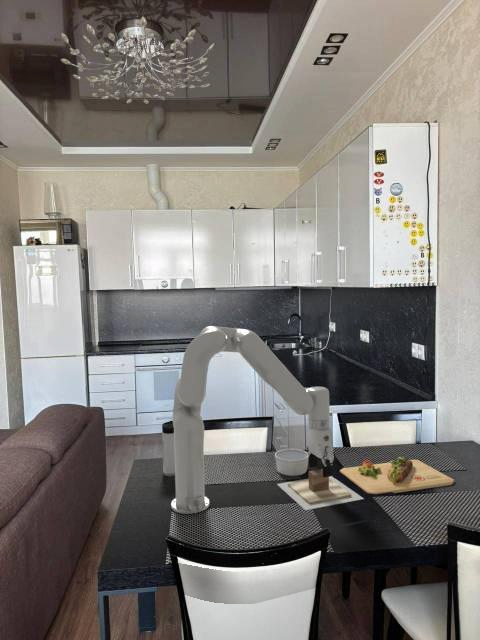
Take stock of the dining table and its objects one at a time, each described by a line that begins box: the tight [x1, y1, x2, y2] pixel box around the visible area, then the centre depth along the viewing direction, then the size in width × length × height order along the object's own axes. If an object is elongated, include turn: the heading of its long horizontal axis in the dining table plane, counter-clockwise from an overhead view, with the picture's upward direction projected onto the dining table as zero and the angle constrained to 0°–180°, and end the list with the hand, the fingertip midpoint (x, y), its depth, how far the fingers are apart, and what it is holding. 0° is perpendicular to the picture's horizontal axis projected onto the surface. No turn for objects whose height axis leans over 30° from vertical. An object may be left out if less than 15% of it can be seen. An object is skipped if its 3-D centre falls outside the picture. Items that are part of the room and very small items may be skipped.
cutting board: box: [339, 456, 455, 495], centre depth 178 cm, size 35×23×8 cm
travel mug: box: [161, 420, 175, 477], centre depth 186 cm, size 6×7×20 cm
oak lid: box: [288, 468, 351, 505], centre depth 166 cm, size 16×16×7 cm
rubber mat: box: [276, 475, 365, 511], centre depth 166 cm, size 22×22×1 cm
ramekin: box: [274, 448, 309, 477], centre depth 186 cm, size 13×13×7 cm
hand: (320, 471), depth 166 cm, fingers open, 9 cm apart
